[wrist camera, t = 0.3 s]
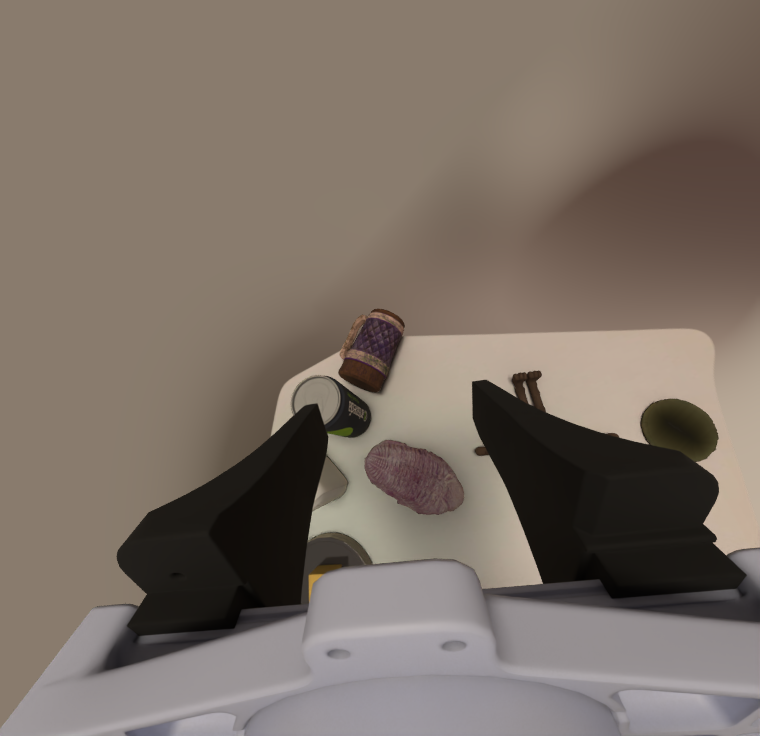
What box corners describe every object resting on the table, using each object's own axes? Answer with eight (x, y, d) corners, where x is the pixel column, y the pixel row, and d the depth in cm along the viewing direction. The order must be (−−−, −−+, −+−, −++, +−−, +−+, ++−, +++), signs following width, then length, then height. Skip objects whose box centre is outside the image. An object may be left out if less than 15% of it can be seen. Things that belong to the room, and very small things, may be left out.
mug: (388, 397, 41) (416, 329, 44) (359, 377, 36) (393, 303, 39) (345, 385, 48) (372, 328, 51) (316, 367, 43) (348, 305, 46)
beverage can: (372, 436, 42) (342, 428, 28) (333, 438, 43) (286, 431, 29) (371, 397, 44) (342, 370, 30) (334, 399, 45) (290, 375, 31)
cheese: (343, 608, 36) (335, 622, 33) (319, 609, 36) (309, 623, 33) (341, 564, 37) (333, 573, 34) (318, 565, 38) (308, 574, 35)
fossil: (381, 430, 42) (375, 426, 37) (471, 469, 38) (477, 471, 34) (359, 481, 40) (350, 485, 36) (452, 528, 37) (455, 539, 32)
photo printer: (353, 483, 41) (322, 495, 29) (333, 506, 40) (294, 527, 29) (310, 435, 44) (267, 428, 32) (292, 455, 44) (241, 456, 32)
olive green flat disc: (650, 459, 34) (646, 459, 35) (726, 465, 33) (720, 465, 34) (639, 397, 37) (635, 398, 37) (709, 400, 35) (704, 401, 36)
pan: (381, 642, 34) (377, 656, 32) (288, 643, 36) (278, 656, 34) (372, 529, 38) (368, 534, 36) (289, 535, 40) (280, 540, 38)
